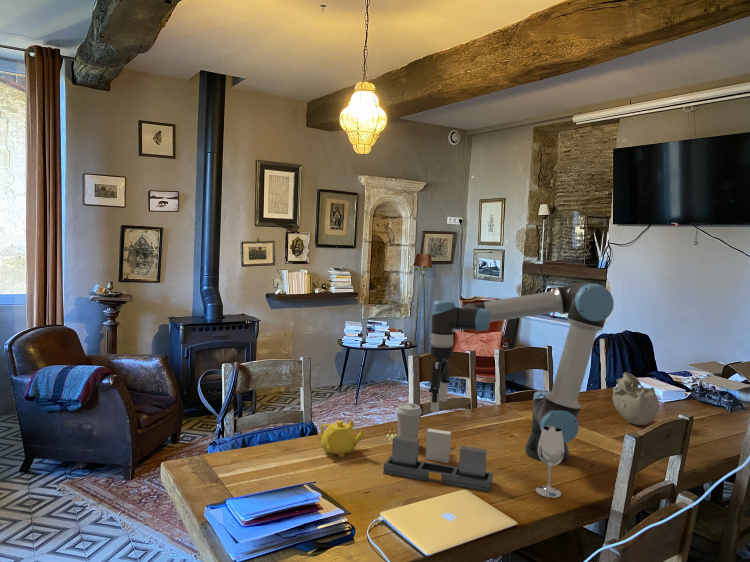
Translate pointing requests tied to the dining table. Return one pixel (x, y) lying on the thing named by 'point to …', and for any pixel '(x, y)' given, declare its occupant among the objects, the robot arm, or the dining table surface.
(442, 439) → the panel
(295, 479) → the dining table surface
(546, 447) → the wineglass
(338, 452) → the teapot
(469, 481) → the rack
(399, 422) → the coffee cup
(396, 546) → the dining table surface
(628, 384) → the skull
